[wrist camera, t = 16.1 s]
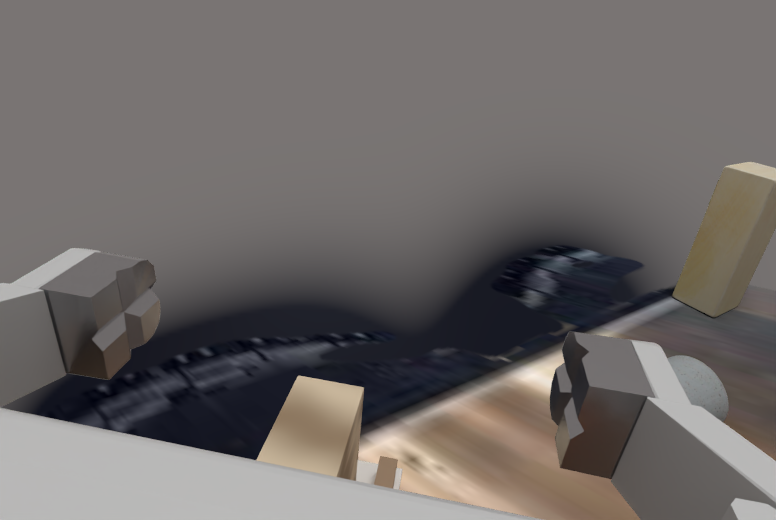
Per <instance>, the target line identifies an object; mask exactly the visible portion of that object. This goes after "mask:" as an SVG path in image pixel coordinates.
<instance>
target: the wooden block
mask: <svg viewBox="0 0 776 520" xmlns="http://www.w3.org/2000/svg"><path fill="white" fill-rule="evenodd" d="M363 394H364V388H363V387H358V386H352V385H347V384H341V383H336V382H331V381H325V380H320V379H315V378H309V377H304V376H298V377H297V379H296V381H295V383H294V385H293V387H292V389H291V391H290V393H289V395H288V397H287V399H286V401H285V403H284V405H283V407H282V409H281V411H280V413H279V415H278V417H277V419H276V422H275V424H274V426H273V428H272V430H271V432H270V434H269V436H268V438H267V440H266V442H265V444H264V446H263V448H262V450H261V452H260V454H259V456H258V458H257V460H256V461H261V462H266V463H271V464H276V465H281V466H286V467H290V468H295V469H300V470H305V471H310V472H315V473H320V474H325V475H330V476H334V477H339V478H344V479H349V480H354V481H356V474H357V462H358V451H359V440H360V428H361V417H362V405H363Z"/></svg>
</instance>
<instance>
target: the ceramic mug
mask: <svg viewBox="0 0 776 520" xmlns="http://www.w3.org/2000/svg"><path fill="white" fill-rule="evenodd" d="M668 361H669V363H670V365H671V367H672V369H673V371H674V373H675V374H676V376H677V378H678V380H679V382H680V384H681V386H682V388H683V390H684V391H685V393H686V395H687V397H688V399H689V401H690V403H691V405H695V406H701V407H702V408H704V409H705V410H706V411H708V412H709V413H711V414H712V415H713V416H715V417H716V418H717V419H719V420H720V421H722V422H723V421H724V420H725V418H726V416H727V413H728V397H727V394H726V391H725V389H724V386H723V384H722V383H721V381H720V380H719V378H718V377H717V375H716V374H715V373H714V372H713V371H712V370H711V369H710V368H709V367H707V366H706V365H705V364H704V363H702V362H701V361H699V360H697V359H694V358H692V357H688V356H679V355H678V356H673V357H670V358H668Z"/></svg>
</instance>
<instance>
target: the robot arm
mask: <svg viewBox="0 0 776 520" xmlns="http://www.w3.org/2000/svg"><path fill="white" fill-rule="evenodd" d="M155 282H156V276H155V271H154V266H153V265H152V264H151V263H150V262H149V261H148V260H143V259H138V258H133V257H128V256H122V255H117V254H112V253H106V252H100V251H96V250H89V249H83V248H71V249H69V250H68V251H66V252H64V253H63V254H61V255H59V256H57V257H56V258H54V259H52V260H51V261H49V262H47V263H46V264H44V265H42V266H40V267H39V268H37V269H35V270H34V271H32V272H30V273H28V274H27V275H25V276H23V277H22V278H20V279H18V280H16V281H15V282H13V283H11V284H6V283H0V407H2V406H4V405H6V404H8V403H10V402H12V401H14V400H16V399H18V398H20V397H23V396H24V395H27V394H29V393H31V392H33V391H35V390H37V389H39V388H41V387H43V386H45V385H47V384H49V383H51V382H53V381H55V380H57V379H59V378H61V377H63V376H65V375H66V373H70V374H76V375H82V376H88V377H94V378H100V379H106V380H109V379H110V378H111V377H112V376H113V375H114V374H115V373H116V372H117V371H118V370H119V369H120V368H121V367H122V366H123V365H124V364H125V363H126V362H127V361H128V360H129V359H130V358H131V351H130V349H133V348H135V347H138V346H140V345H143V344H145V343H146V342H147V341H148V340H149V339H150V338H151V336H152V335H153V334H154V332H155V330H156V328H157V325H158V323H159V319H160V303H159V299H158V298H157V296H156V295H155V294H154V292H153V291H152V290H151V287H152V286H153V285H154V283H155ZM562 352H563V357H564V362H565V363H564V364H562V365H561V366H559V367H558V368H556V370H555V374H554V378H553V381H552V386H551V394H550V410H551V417H552V420H553V421H554V422H555V423H556V424H557V425H558V426H559V427H558V430H557V433H556V436H555V441H556V447H557V453H558V458H559V464H560V468H563V469H568V470H572V471H577V472H581V473H586V474H590V475H595V476H599V477H604V478H608V479H612V480H611V482H612V484H613V485H614V486H615V487H616V489H617V490H618V491H619V492H620V494H621V495H622V496H623V497H624V499H625V500H626V501H627V503H628V504H629V505H630V506H631V508H632V509H633V510H634V511H635V513H636V514H637V515H638V516H639V518H640V519H641V520H776V461H775V460H773V459H772V458H771V457H769V456H768V455H767V454H765V453H764V452H762V451H761V450H760V449H758V448H757V447H756V446H754V445H753V444H752V443H750V442H749V441H747V440H746V439H745V438H743V437H742V436H741V435H739V434H738V433H737V432H735V431H734V430H732V429H731V428H730V427H728V426H727V425H726V424H724V423H723V422H722V421H720V420H719V419H717V418H716V417H715V416H713V415H712V414H711V413H709V412H708V411H706V410H705V409H704V408H702V407H701V406H695V405H691V403H690V401H689V399H688V397H687V395H686V393H685V391H684V390H683V388H682V386H681V384H680V382H679V380H678V378H677V376H676V374H675V373H674V371H673V369H672V367H671V365H670V363H669V361H668V359H667V357H666V356H665V354H664V352H663V350H662V348H661V347H660V346H659V345H658V344H656V343H651V342H643V341H635V340H628V339H620V338H613V337H606V336H599V335H592V334H585V333H577V332H570V331H569V333H568V335H567V337H566V339H565V342H564V345H563V348H562ZM0 520H542V519H537V518H532V517H528V516H523V515H518V514H513V513H508V512H503V511H499V510H494V509H489V508H484V507H479V506H474V505H470V504H465V503H460V502H455V501H450V500H446V499H441V498H436V497H431V496H426V495H421V494H417V493H412V492H407V491H402V490H397V489H392V488H388V487H383V486H378V485H373V484H368V483H363V482H359V481H354V480H349V479H344V478H339V477H334V476H330V475H325V474H320V473H315V472H310V471H305V470H300V469H295V468H290V467H286V466H281V465H276V464H271V463H266V462H261V461H256V460H251V459H246V458H242V457H237V456H232V455H227V454H222V453H217V452H212V451H207V450H202V449H197V448H193V447H188V446H183V445H178V444H173V443H168V442H163V441H158V440H153V439H149V438H144V437H139V436H134V435H129V434H124V433H120V432H115V431H110V430H105V429H100V428H95V427H91V426H86V425H81V424H76V423H71V422H66V421H61V420H57V419H52V418H47V417H42V416H37V415H32V414H28V413H23V412H18V411H13V410H8V409H3V408H0Z"/></svg>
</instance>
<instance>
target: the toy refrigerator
mask: <svg viewBox="0 0 776 520" xmlns="http://www.w3.org/2000/svg"><path fill="white" fill-rule="evenodd" d="M775 229H776V168H773V167H769V166H765V165H761V164H757V163H753V162H746V163H740V164H735V165H729V166H726V167H725V168H724V169H723V172H722V174H721V177H720V179H719V180H718V183H717V185H716V188H715V190H714V193H713V195H712V198H711V200H710V202H709V206H708V209H707V211H706V213H705V216H704V218H703V221H702V223H701V226H700V228H699V231H698V234H697V236H696V238H695V241H694V243H693V246H692V248H691V251H690V253H689V256H688V258H687V261H686V263H685V265H684V268H683V270H682V273H681V275H680V278H679V280H678V282H677V285H676V287H675V290H674V292H673V295H672V296H673V297H674V298H676V299H677V300H679V301H681V302H683V303H685V304H687V305H689V306H691V307H693V308H695V309H697V310H699V311H701V312H703V313H705V314H707V315H709V316H711V317H717V316H719V315H721V314H723V313H725V312H727V311H729V310H731V309H733V308H735V307H737V306H738V305H739V303H740V302H741V299H742V297H743V295H744V293H745V291H746V289H747V287H748V285H749V283H750V281H751V279H752V277H753V274H754V272H755V270H756V268H757V266H758V264H759V262H760V260H761V258H762V256H763V254H764V252H765V250H766V247H767V245H768V243H769V241H770V239H771V237H772V235H773V233H774V231H775Z"/></svg>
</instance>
